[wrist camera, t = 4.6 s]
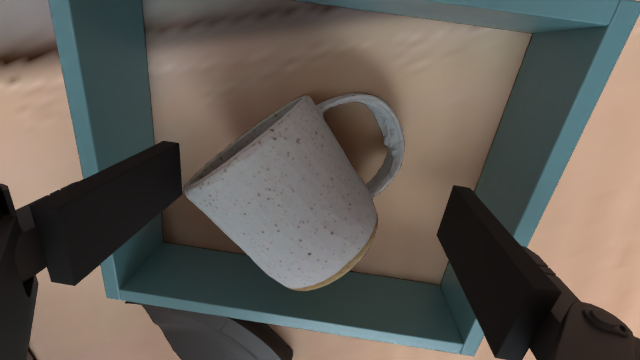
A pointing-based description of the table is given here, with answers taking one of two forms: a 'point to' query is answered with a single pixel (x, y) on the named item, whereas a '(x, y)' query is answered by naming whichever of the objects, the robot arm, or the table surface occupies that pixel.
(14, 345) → the robot arm
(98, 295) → the table surface
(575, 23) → the teal rectangular frame
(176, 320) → the dark sector wedge
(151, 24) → the table surface
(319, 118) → the ceramic mug
